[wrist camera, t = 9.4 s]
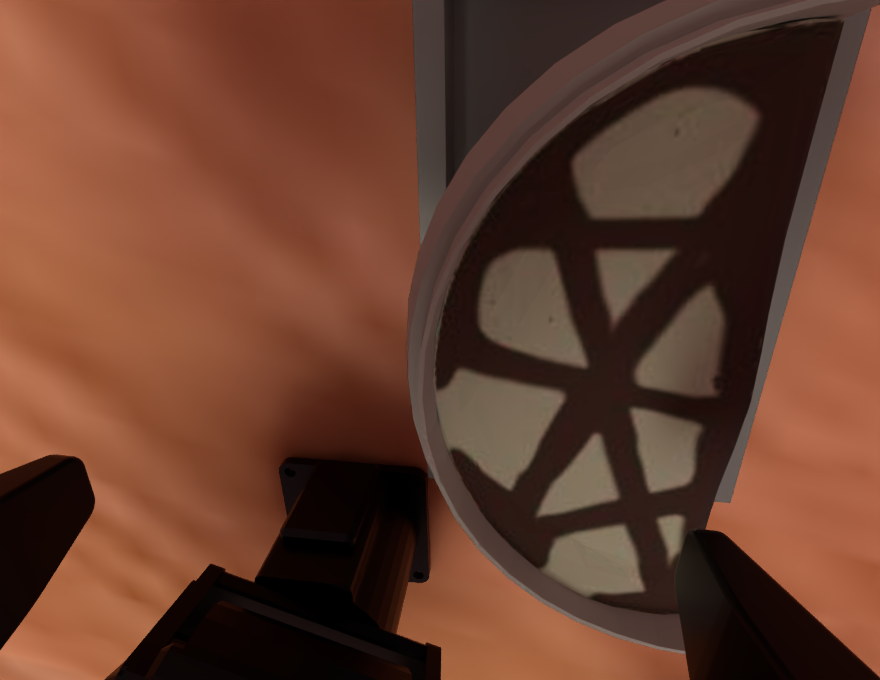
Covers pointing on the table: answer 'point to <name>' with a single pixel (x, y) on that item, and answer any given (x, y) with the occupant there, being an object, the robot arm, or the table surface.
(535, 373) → the food container
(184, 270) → the table surface
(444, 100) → the grey tray
